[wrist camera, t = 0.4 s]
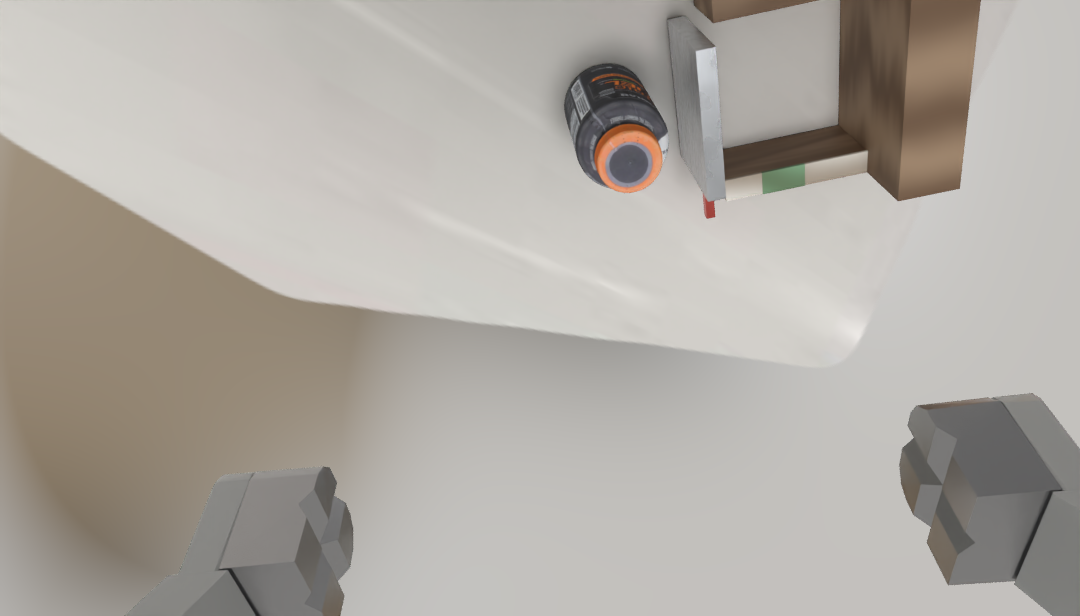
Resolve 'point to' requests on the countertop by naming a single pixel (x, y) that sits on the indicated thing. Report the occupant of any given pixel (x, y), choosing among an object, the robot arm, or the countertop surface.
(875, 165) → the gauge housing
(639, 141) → the pill bottle
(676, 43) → the brushed metal plate
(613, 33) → the countertop surface
